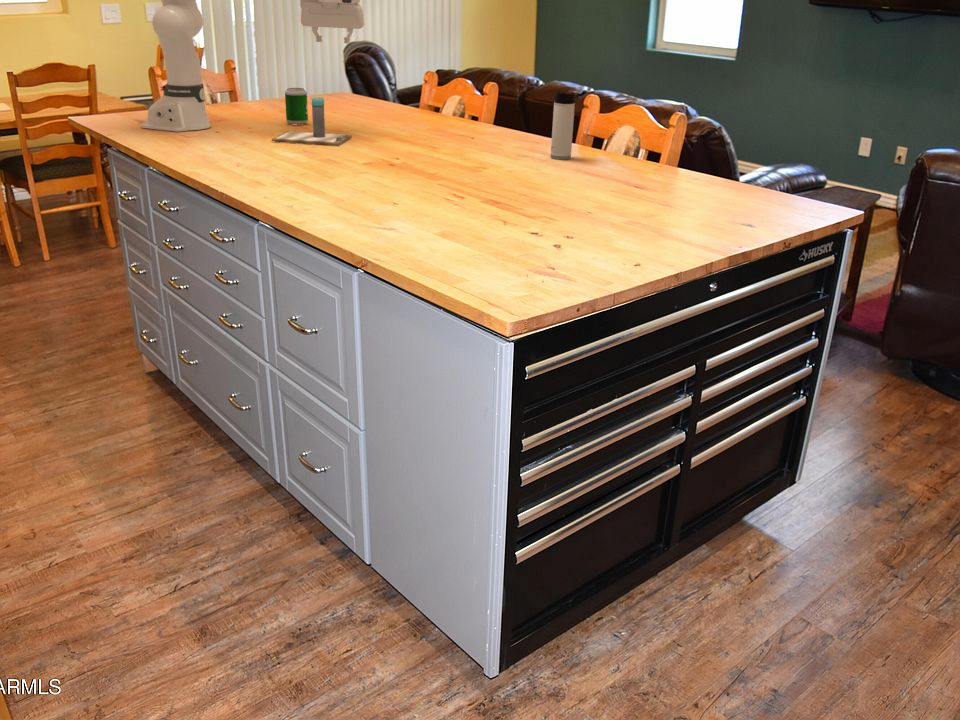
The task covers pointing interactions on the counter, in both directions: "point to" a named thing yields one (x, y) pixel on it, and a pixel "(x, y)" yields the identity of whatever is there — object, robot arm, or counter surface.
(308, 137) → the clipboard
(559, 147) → the travel mug
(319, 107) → the marker
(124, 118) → the counter surface
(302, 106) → the soda can
